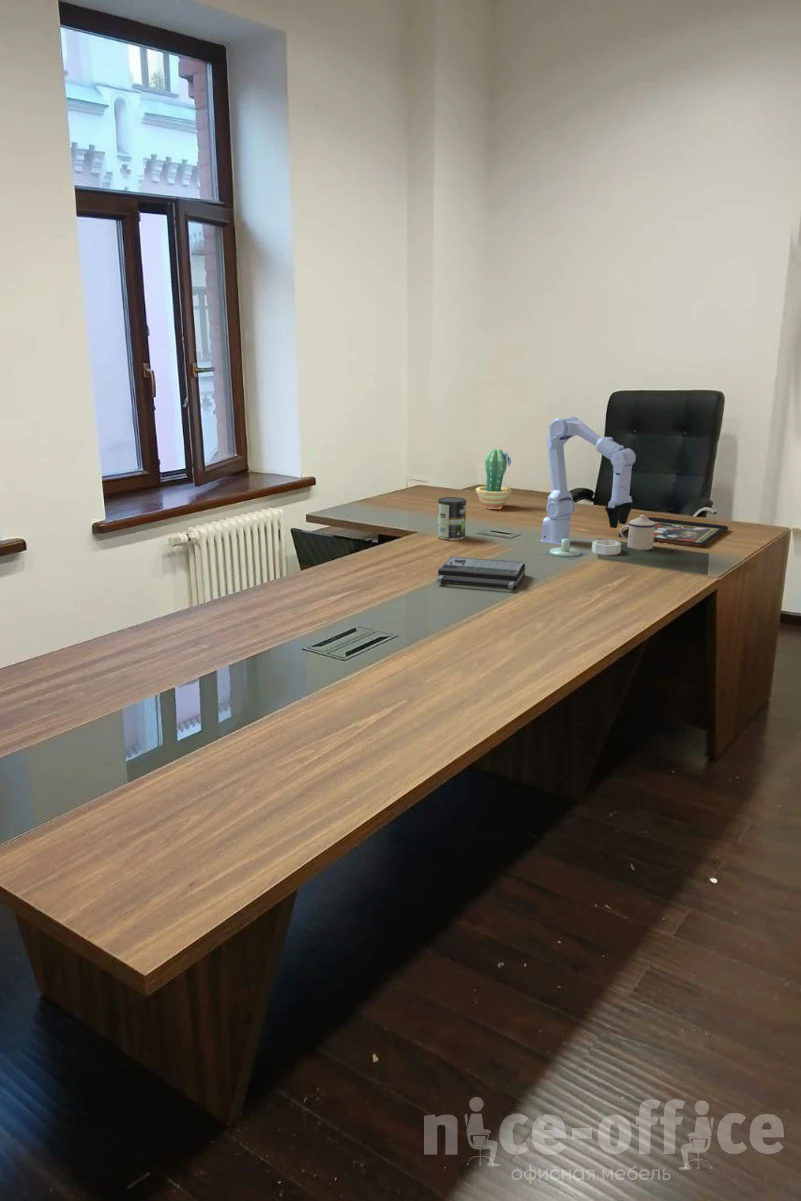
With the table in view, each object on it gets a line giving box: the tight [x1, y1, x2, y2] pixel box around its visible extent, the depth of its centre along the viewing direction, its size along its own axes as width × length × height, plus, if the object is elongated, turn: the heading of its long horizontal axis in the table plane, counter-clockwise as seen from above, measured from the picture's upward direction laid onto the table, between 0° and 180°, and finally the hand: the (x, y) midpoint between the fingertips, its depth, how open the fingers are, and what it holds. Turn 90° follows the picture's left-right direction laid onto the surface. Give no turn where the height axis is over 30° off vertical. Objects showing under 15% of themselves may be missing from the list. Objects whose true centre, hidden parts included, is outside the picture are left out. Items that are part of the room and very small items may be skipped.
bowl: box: [591, 539, 622, 556], centre depth 306 cm, size 9×9×4 cm
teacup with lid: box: [619, 514, 655, 551], centre depth 313 cm, size 12×9×12 cm
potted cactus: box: [475, 448, 513, 508], centre depth 379 cm, size 15×15×25 cm
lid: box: [549, 538, 581, 558], centre depth 303 cm, size 10×10×5 cm
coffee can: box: [437, 496, 467, 539], centre depth 326 cm, size 10×10×14 cm
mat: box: [541, 550, 590, 560], centre depth 304 cm, size 12×12×1 cm
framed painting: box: [618, 516, 729, 549], centre depth 335 cm, size 38×35×3 cm
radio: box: [436, 556, 526, 589], centre depth 272 cm, size 24×5×20 cm
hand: (618, 525), depth 302 cm, fingers open, 7 cm apart
